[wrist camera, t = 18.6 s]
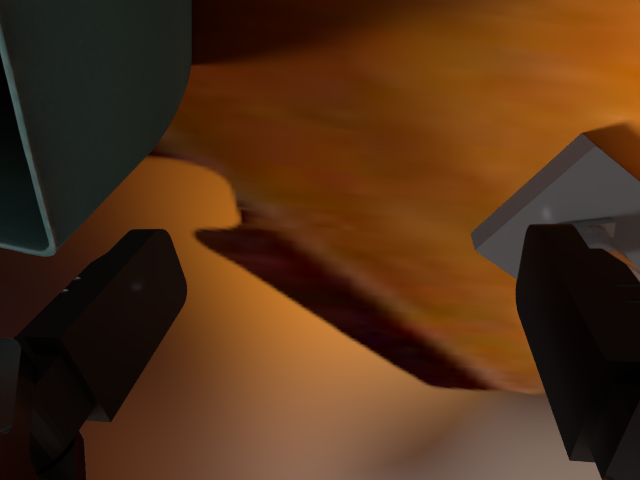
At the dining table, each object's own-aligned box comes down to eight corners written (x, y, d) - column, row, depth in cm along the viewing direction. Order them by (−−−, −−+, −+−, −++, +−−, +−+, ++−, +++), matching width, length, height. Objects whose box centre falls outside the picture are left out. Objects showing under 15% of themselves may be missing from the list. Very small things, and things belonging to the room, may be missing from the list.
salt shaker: (611, 217, 42) (672, 287, 33) (605, 258, 45) (660, 333, 36) (556, 223, 43) (601, 293, 34) (553, 262, 46) (594, 337, 37)
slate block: (580, 131, 42) (595, 145, 39) (678, 212, 45) (701, 232, 42) (469, 231, 50) (474, 250, 47) (560, 294, 53) (571, 317, 50)
